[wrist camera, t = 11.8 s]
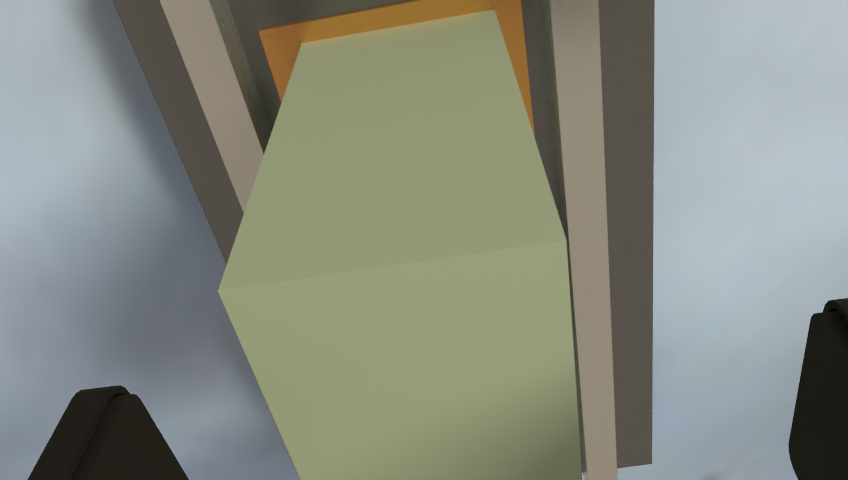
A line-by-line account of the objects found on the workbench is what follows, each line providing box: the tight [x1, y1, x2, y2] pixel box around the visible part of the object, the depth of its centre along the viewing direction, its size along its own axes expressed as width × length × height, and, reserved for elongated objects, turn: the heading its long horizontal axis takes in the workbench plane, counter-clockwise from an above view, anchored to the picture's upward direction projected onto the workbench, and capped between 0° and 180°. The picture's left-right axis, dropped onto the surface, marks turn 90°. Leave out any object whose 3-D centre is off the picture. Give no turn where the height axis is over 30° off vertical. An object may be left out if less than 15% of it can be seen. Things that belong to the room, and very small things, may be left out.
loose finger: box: [218, 10, 582, 480], centre depth 14 cm, size 4×6×9 cm
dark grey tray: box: [113, 0, 654, 480], centre depth 21 cm, size 12×20×3 cm, turn 10°
